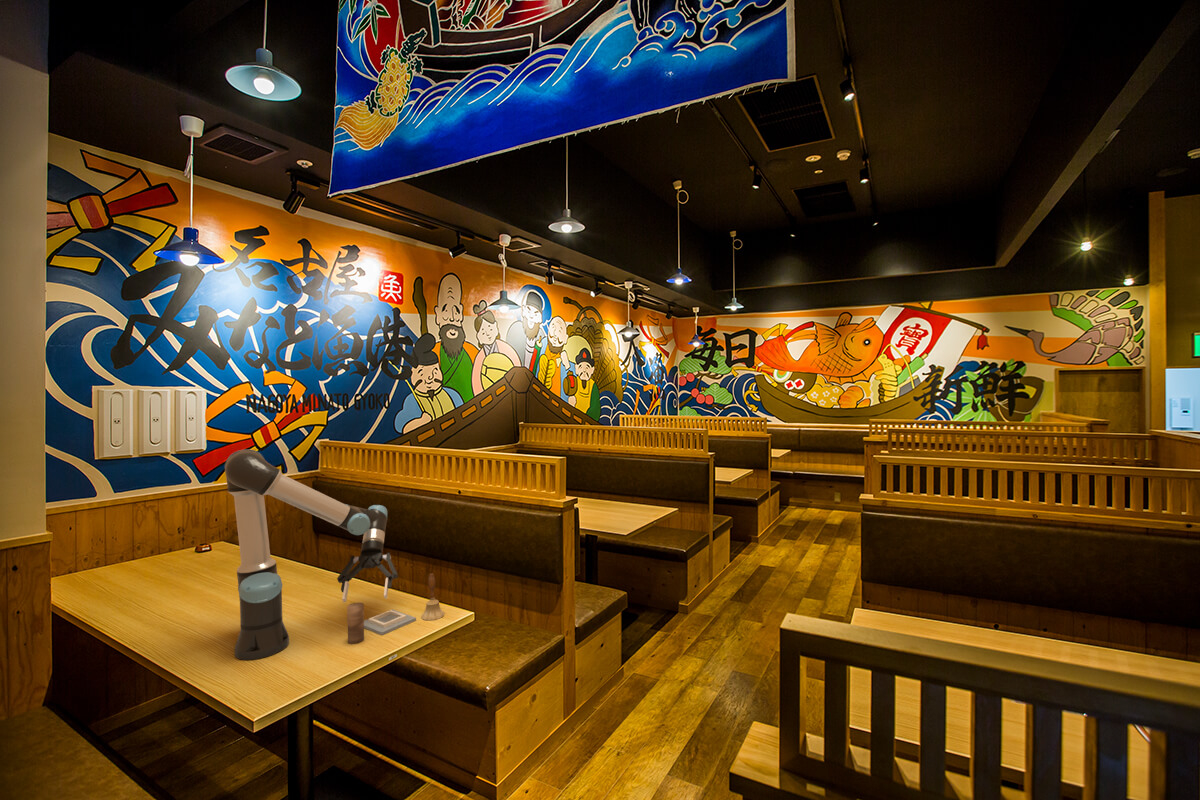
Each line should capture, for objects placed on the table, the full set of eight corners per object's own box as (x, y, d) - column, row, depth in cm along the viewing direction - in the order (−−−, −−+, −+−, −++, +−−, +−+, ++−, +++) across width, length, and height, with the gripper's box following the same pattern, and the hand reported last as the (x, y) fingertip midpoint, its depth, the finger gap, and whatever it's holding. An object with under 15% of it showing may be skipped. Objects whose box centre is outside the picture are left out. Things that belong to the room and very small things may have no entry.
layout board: (381, 635, 183) (381, 629, 182) (358, 625, 190) (358, 619, 190) (416, 620, 194) (415, 614, 194) (392, 611, 202) (392, 606, 202)
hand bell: (431, 622, 192) (430, 579, 192) (416, 617, 197) (415, 575, 196) (449, 614, 199) (448, 572, 199) (434, 609, 204) (433, 568, 203)
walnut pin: (353, 645, 175) (352, 609, 175) (344, 641, 178) (344, 606, 178) (367, 639, 180) (366, 604, 179) (358, 635, 182) (358, 601, 182)
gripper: (408, 546, 206) (403, 599, 191) (339, 551, 201) (329, 606, 186) (406, 536, 200) (400, 590, 186) (335, 541, 195) (324, 597, 181)
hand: (364, 598), depth 186 cm, fingers open, 13 cm apart
